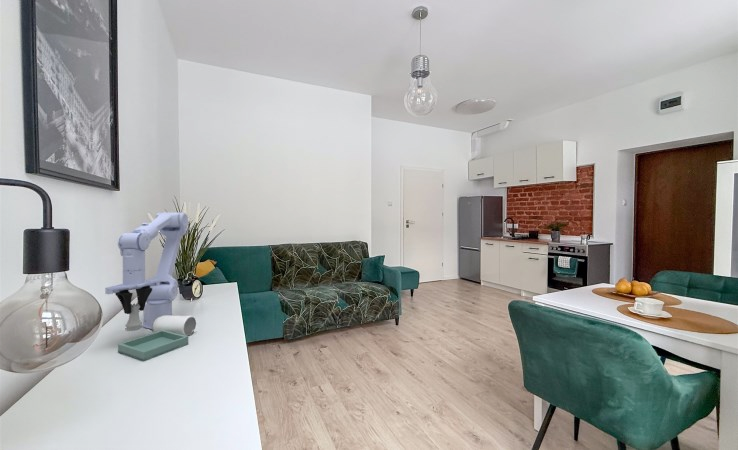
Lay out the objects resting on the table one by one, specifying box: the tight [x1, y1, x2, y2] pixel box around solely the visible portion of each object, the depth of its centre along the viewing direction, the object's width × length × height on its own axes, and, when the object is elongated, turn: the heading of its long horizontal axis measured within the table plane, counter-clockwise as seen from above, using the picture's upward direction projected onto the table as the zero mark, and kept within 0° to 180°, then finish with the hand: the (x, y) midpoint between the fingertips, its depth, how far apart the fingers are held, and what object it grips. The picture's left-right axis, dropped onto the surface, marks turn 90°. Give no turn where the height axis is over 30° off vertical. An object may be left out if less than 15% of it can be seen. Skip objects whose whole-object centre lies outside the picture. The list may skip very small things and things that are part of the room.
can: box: [151, 315, 197, 337], centre depth 104 cm, size 6×6×12 cm
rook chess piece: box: [124, 302, 143, 332], centre depth 97 cm, size 4×4×8 cm
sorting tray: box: [117, 330, 189, 362], centre depth 93 cm, size 13×13×2 cm
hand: (134, 311), depth 97 cm, fingers closed on rook chess piece, 3 cm apart
